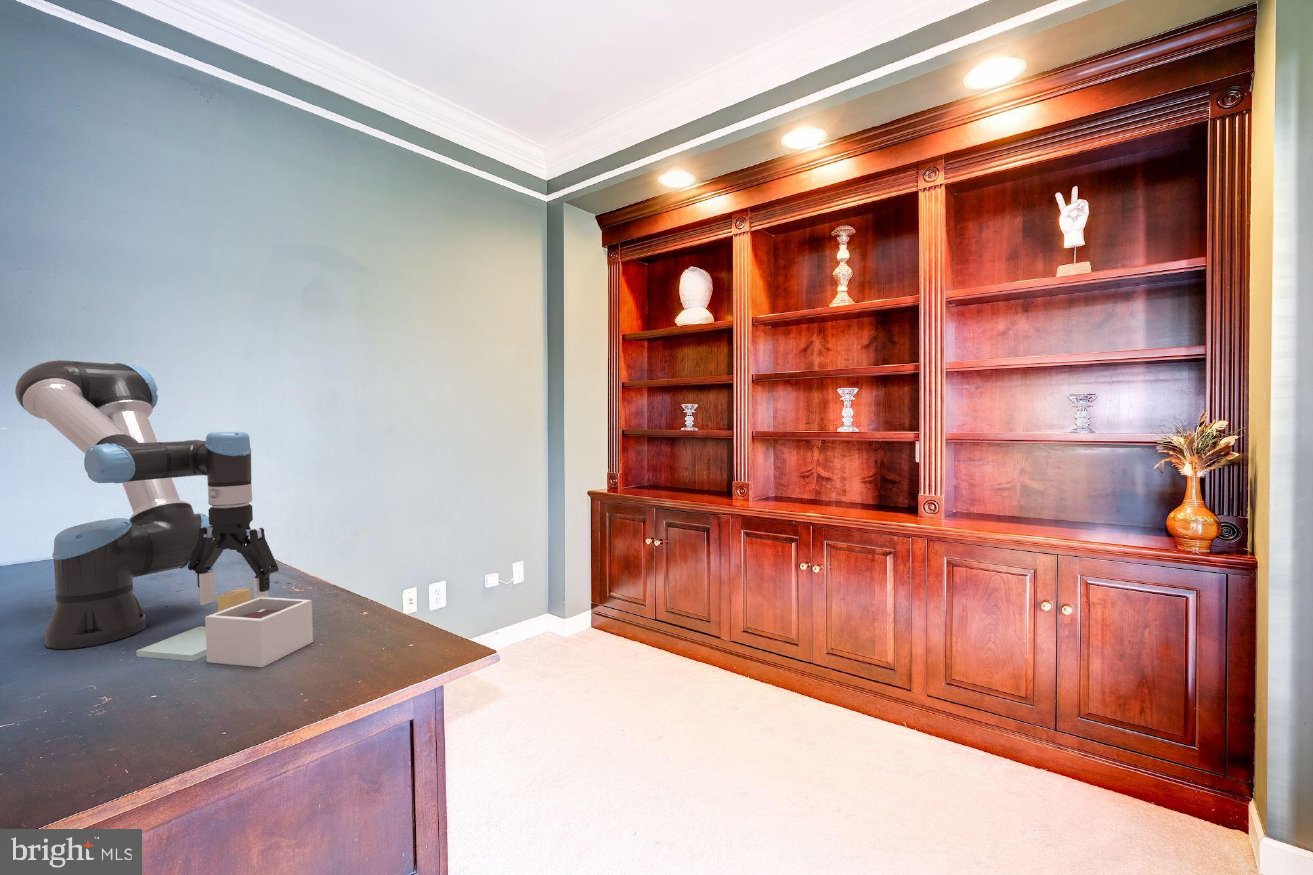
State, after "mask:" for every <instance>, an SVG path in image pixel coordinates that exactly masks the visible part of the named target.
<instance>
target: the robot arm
mask: <svg viewBox="0 0 1313 875" xmlns="http://www.w3.org/2000/svg"><path fill="white" fill-rule="evenodd" d="M14 390H15V392H14V393H15V398H16V400H17V402H18V403H19V405H20V406H21V407H22V409H24V410H25V411H26V412H27V413H28V414H29V415H30V416H33V417H34V418H37V419H42V420H45V421H47V422H48V423H49V424H50V425H51V426H52V427H53V428H55V429H56V430H57V431H58V432H59V433H60V434H62V436H64V437H65V438H66V439H67V440H68V441H70V443H72V444H73V445H74V446H76V448H77V449H79V451H81V452H82V453H84V454H85V455H84V459H83V460H84V462H83V464H84V471H85V472H86V473H87V477H88V478H89V479H90V480H91V482H94V483H97V484H108V483H109V484H122V486H123V488H124V491H125V495H126V496H127V500H128V502H129V505H130V507H131V509H132V512H133V514H132V515H131V516H130V517H129V518H125V517H117V518H115V517H114V518H108V519H100V520H94V521H90V522H86V523H81V524H77V525H73V526H70V527H67V528H65V529H64V530H61V531H60V532H59V533H57V534H56V536H55V537H54V540H53V552H52V559H53V566H54V567H53V570H54V584H55V586H54V589H55V607H54V610H53V612H52V615H51V617H50V620H49V623H48V626H47V628H46V629H47V630H45V633H44V641H45V642H44V643H45V647H46V648H49V649H55V650H67V649H69V650H70V649H77V648H78V649H79V648H85V647H86V648H87V647H91V646H98V645H102V644H107V643H111V642H114V641H119V640H122V639H125V638H129V637H130V636H133V635H135V634H138V633H140V632H142V631H143V630H144V629H145V628H146V626H147V625H146V624H147V622H146V621H147V620H146V619H147V618H146V614H145V612H144V611H143V609H142V607H141V605H140V603H139V600H138V599H137V597H136V595H135V592H134V578H138V577H143V576H147V575H153V574H157V573H158V574H159V573H163V572H167V571H173V570H177V569H185V568H186V567H187V569H188V571H194V573H195V574H196V576H197V578H196V579H197V587H198V589H199V605H200V606H205V605H207V604H209V603H213V602H215V600H216V598H215V572H214V571H215V570H214V571H213V567H214V565H215V563H216V562H217V561H218V559H219V558H220V556H221V555H222V554H223V552H224V550H231V551H236V552H237V553H239V554H241V556H242V557H243V559H244V560H245V561H246V563H247V564H248V565H249V567H250V568H251V570H252V571H253V572H254V574H255V576H254V577H252V578H253V581H252V582H253V586H252V587H253V599H256V598H259V597H269V591H270V588H271V585H270V580H271V579H270V576H271V574H273V573H276V572H278V571H279V566H278V564H277V562H276V559H275V557H274V555H273V553H272V550H271V549H270V548H271V547H270V546H269V543H268V541H267V539H266V536H265V529H264V527H258V528H253V529H252V528H251V527H250V526H251V525H250V524H251V522H252V521H253V518H254V516H253V515H254V514H253V505H252V504H250V503H252V502H253V490H252V489H253V488H252V485H253V484H252V448H251V442H250V439H251V438H250V435H249V434H248V433H247V432H245V431H217V432H216V431H213V432H211V431H210V432H209V433H207V435H206V438H205V440H201V439H188V440H183V441H182V440H181V441H180V440H179V441H161V442H160V441H157V438H156V434H155V433H154V429H153V428H152V425H151V422H150V419H149V417H150V416H151V415H152V413H153V409H154V408H155V407H156V405H157V404H158V403H157V402H158V399H159V395H158V394H157V392H158V390H159V389H158V386H157V384H156V381H155V379H154V377H153V376H152V375H151V373H150V372H149V371H148V370H147V369H145V368H144V367H142V366H140V365H139V366H138V365H135V364H133V365H132V364H126V363H121V362H116V363H105V362H92V361H89V362H87V361H74V360H73V361H72V360H62V359H61V360H60V359H59V360H58V359H57V360H51V361H45V362H41V363H39V364H37V365H35V366H33V367H31V368H28V369H27V370H26V371H24V372H23V374H21V376H20V377H19V379H18V380H17V382H16V385H15V389H14ZM196 476H207V496H208V497H207V498H208V499H207V501H208V503H207V504H208V505H209V506H211V507H209V508H208V515H206V514H205V513H200V512H198V513H195V511H194V509H193V506H192V504H191V503H189V502H187V501H184V500H181V498H180V495H179V493H178V490H177V488H176V486H175V483H174V479H172V478H184V477H185V478H186V477H196Z"/></svg>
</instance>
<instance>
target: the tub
mask: <svg viewBox="0 0 1313 875" xmlns="http://www.w3.org/2000/svg"><path fill="white" fill-rule="evenodd" d="M261 609H267V610H281V611H279V612H276V613H274V614H271V615H269V616H266V617H264V618H261V619H258V618H245V617H242V616H244V615H246V614H249V613H253V612H256V611H259V610H261ZM204 619H205V620H204V621H205V622H204V624H205V627H206V652H207V655H206V663H209V664H210V663H214V664H220V665H221V664H222V665H233V666H235V665H236V666H244V667H256V668H257V667H258V668H264V667H265V666H269V665H270V664H271V663H274V662H276V661H278V660H279V659H281V658H284V657H286V656H287V655H290V654H292V653H294V652H295V651H297V650H300V649H302V648H304V647H305V646H308V645H310V644H311V643H313V642H314V633H313V632H314V629H313V628H314V627H313V626H314V625H313V601H312V599H300V598H286V597H285V598H284V597H270V596H268V597H259V598H256V599H254V598H253V599H251V600H250V601H248V602H245V603H242V604H239V605H237V606H234V607H231V608H228V609H225V610H223V611H220V612H218V611H217V612H214V613H212V614H209V615H206V616H205V617H204Z"/></svg>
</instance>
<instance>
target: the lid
mask: <svg viewBox="0 0 1313 875" xmlns="http://www.w3.org/2000/svg"><path fill="white" fill-rule="evenodd" d="M251 598H252V597H251V589H249V588H236V589H233V590H230V591H228V592H225V593H222V594H219V595H217V612H220V611H223V610H225V609H228V608H231V607H234V606H237V605H239V604H242V603H245V602H248V601H250V600H252V599H251ZM135 654H136V657H139V658H150V659H161V660H174V661H185V662H194V661H196V660H199V659H201V658H203V657H207V652H206V626H197V627H194V628H192V629H189V630H187V631H186V630H185V631H184V632H181V633H178V634H176V635H174V636H170V637H168V638H166V639H163V640H161V641H158V642H155V643H153V644H151V645H150V644H149V645H147V646H145V647H141V648H140V649H137V650H136V653H135Z"/></svg>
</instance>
